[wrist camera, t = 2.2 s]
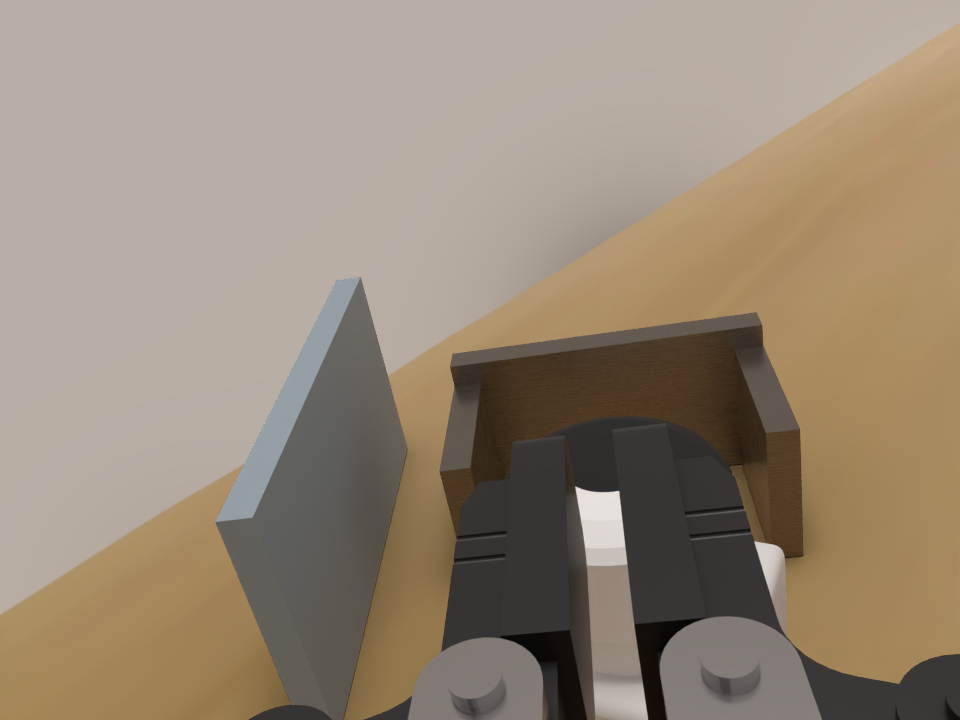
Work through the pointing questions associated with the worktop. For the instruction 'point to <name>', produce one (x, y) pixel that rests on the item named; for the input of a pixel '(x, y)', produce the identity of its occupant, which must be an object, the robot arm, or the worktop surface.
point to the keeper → (633, 405)
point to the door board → (319, 504)
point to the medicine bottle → (607, 562)
